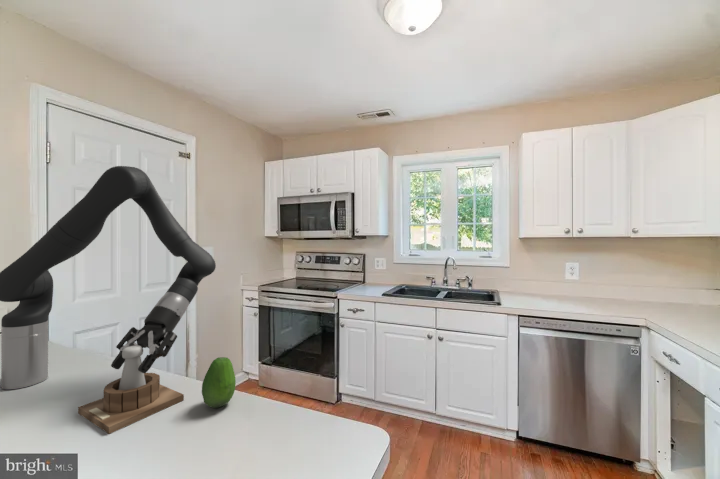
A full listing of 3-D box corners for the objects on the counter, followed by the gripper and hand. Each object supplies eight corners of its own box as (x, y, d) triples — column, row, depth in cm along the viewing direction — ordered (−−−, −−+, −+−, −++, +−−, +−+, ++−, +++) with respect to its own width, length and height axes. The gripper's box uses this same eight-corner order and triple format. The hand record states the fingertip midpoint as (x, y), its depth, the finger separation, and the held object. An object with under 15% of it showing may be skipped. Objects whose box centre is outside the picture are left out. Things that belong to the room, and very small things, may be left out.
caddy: (78, 413, 73) (78, 388, 73) (150, 385, 87) (150, 364, 87) (109, 434, 65) (109, 405, 65) (183, 400, 79) (183, 377, 79)
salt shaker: (131, 406, 74) (131, 351, 74) (111, 403, 75) (111, 350, 75) (152, 394, 80) (152, 343, 80) (133, 392, 81) (133, 342, 81)
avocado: (241, 404, 77) (241, 357, 77) (208, 418, 71) (208, 366, 71) (227, 394, 83) (227, 349, 83) (196, 405, 77) (196, 357, 77)
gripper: (139, 303, 85) (94, 360, 74) (181, 306, 82) (140, 366, 71) (156, 317, 91) (116, 373, 79) (196, 321, 87) (160, 379, 76)
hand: (127, 369), depth 75 cm, fingers open, 8 cm apart
